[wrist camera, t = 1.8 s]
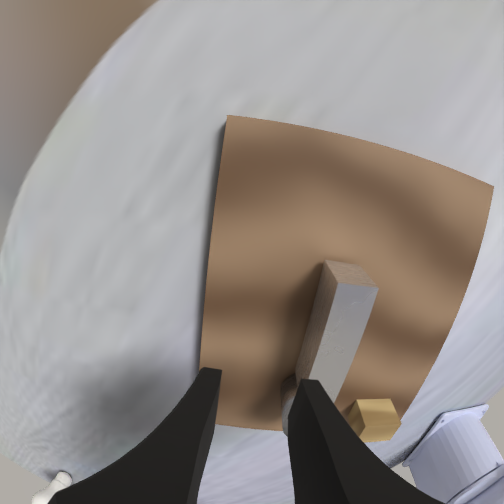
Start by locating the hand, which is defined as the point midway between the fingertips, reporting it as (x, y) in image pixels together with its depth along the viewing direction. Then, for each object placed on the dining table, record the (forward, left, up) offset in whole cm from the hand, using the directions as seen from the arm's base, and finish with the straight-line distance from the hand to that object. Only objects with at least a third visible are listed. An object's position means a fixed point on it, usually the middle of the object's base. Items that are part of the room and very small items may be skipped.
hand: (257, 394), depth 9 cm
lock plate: (-1, -6, -8) cm, 10 cm away
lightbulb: (-38, +24, -9) cm, 46 cm away
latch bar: (-2, -4, -7) cm, 8 cm away
